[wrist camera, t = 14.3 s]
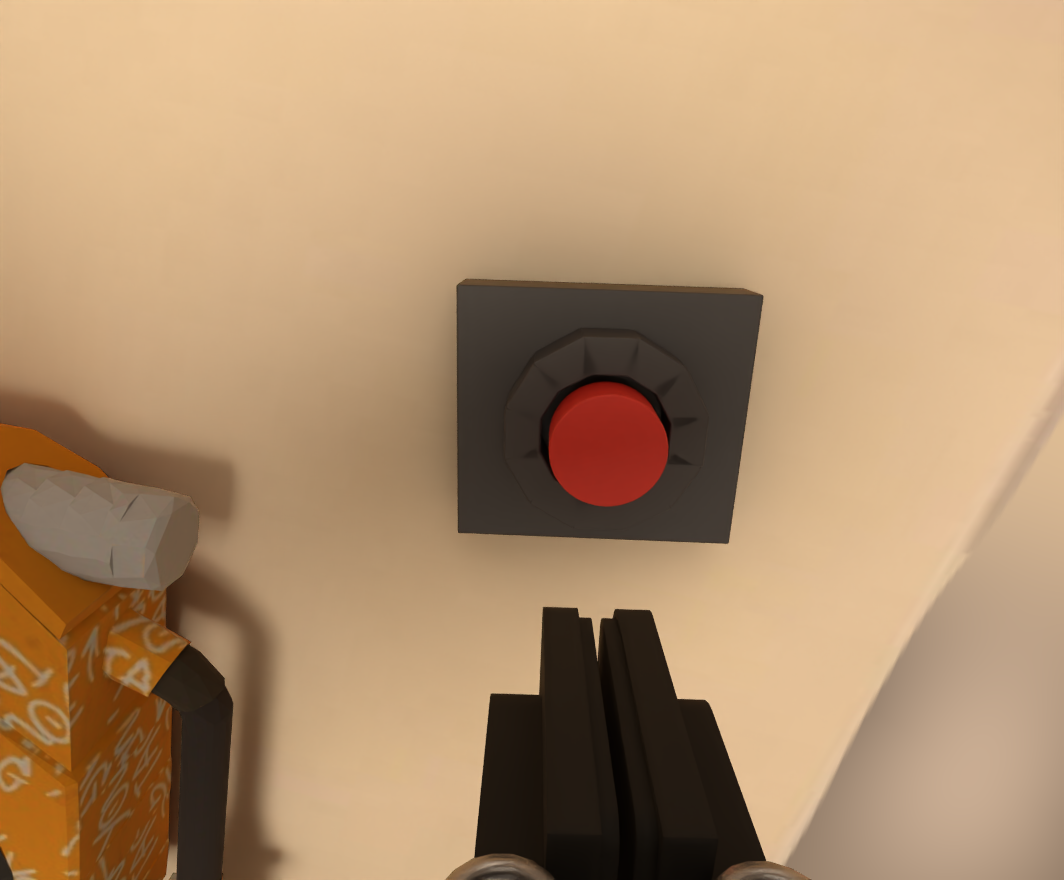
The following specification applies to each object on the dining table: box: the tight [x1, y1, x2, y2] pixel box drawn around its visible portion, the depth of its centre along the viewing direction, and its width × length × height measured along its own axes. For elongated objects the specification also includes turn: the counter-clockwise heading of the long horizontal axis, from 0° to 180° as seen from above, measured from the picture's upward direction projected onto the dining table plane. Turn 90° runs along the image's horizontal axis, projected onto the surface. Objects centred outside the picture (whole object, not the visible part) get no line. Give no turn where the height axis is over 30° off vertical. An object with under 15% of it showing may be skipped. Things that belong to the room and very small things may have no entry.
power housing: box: [457, 279, 763, 544], centre depth 23 cm, size 10×9×4 cm
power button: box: [549, 381, 668, 506], centre depth 21 cm, size 4×4×2 cm
